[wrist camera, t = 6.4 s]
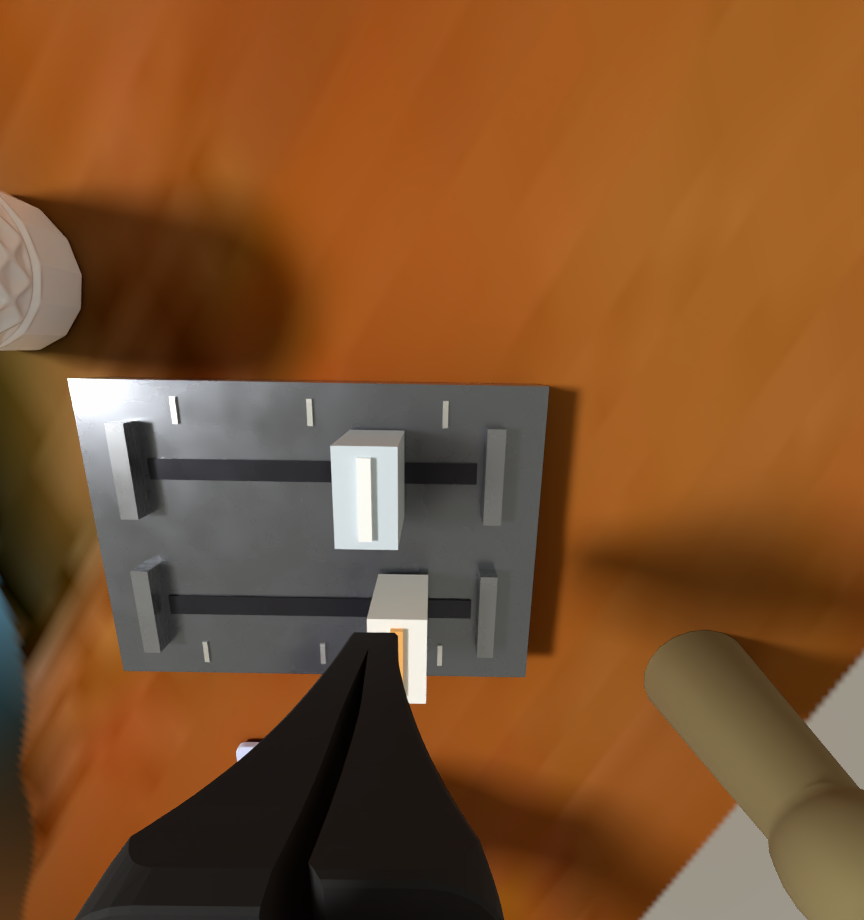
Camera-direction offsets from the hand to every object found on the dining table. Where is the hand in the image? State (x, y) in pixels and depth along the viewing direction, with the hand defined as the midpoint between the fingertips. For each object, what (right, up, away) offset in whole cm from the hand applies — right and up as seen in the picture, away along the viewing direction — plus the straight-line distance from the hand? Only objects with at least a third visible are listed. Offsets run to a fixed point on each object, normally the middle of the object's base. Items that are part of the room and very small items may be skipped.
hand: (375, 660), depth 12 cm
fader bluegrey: (-1, +5, +6) cm, 8 cm away
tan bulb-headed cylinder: (+17, -6, +12) cm, 22 cm away
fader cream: (0, -1, +8) cm, 8 cm away
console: (-4, +3, +9) cm, 10 cm away
